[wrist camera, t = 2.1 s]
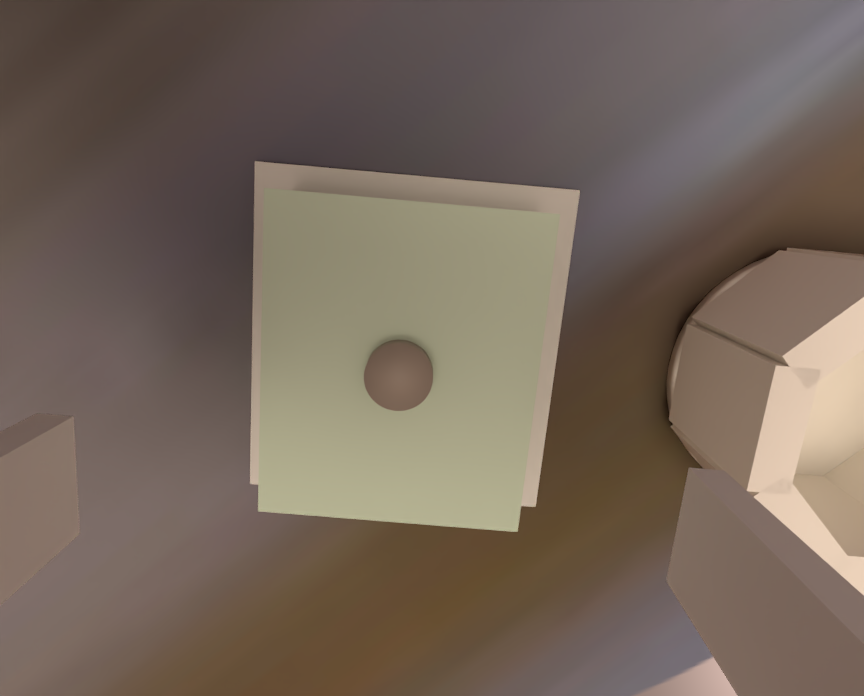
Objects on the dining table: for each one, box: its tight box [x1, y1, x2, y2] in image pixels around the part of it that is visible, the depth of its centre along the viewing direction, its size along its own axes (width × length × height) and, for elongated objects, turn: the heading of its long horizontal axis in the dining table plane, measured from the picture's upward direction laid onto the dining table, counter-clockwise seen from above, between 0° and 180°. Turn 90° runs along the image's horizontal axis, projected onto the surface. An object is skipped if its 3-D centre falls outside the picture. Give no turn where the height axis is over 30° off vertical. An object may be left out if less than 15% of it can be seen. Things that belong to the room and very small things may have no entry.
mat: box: [250, 161, 580, 507], centre depth 25 cm, size 14×13×1 cm
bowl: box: [666, 248, 864, 595], centre depth 22 cm, size 11×11×8 cm
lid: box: [258, 188, 560, 532], centre depth 23 cm, size 12×10×5 cm
